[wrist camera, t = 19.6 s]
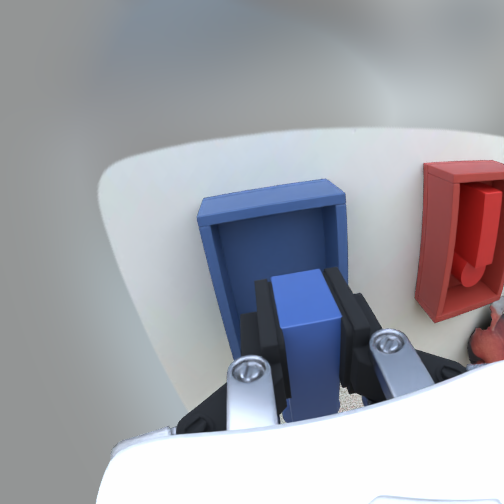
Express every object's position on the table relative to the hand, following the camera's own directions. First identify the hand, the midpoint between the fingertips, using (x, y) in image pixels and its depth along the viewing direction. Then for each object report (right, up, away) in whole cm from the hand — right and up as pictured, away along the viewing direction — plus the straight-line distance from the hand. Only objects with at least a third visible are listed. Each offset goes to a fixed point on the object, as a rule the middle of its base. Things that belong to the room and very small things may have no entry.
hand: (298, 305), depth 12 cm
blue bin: (0, +1, +8) cm, 8 cm away
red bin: (+15, +4, +8) cm, 17 cm away
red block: (+15, +4, +7) cm, 17 cm away
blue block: (0, -2, +1) cm, 3 cm away
